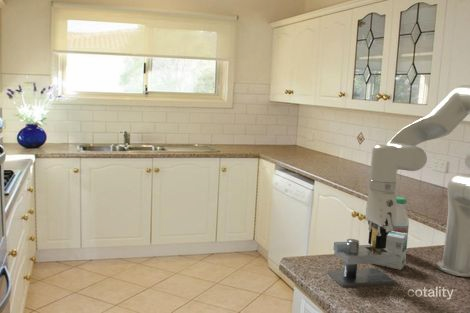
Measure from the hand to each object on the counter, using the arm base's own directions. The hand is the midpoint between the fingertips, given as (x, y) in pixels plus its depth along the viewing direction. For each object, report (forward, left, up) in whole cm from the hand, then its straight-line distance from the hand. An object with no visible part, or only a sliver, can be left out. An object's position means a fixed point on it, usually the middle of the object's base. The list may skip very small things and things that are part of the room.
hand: (376, 245), depth 146 cm
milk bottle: (-20, -21, -11) cm, 31 cm away
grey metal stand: (+5, 0, -10) cm, 11 cm away
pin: (0, 0, -3) cm, 3 cm away
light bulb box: (-11, -11, -11) cm, 19 cm away
